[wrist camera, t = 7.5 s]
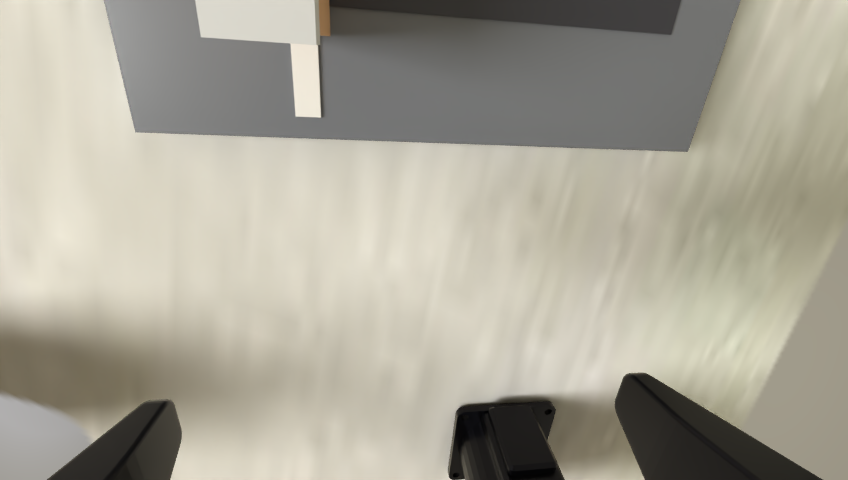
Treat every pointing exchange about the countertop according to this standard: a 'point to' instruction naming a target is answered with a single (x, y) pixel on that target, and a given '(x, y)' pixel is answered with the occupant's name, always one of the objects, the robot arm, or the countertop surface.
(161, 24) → the console
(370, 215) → the countertop surface
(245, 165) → the countertop surface
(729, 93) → the countertop surface
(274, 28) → the fader tab
